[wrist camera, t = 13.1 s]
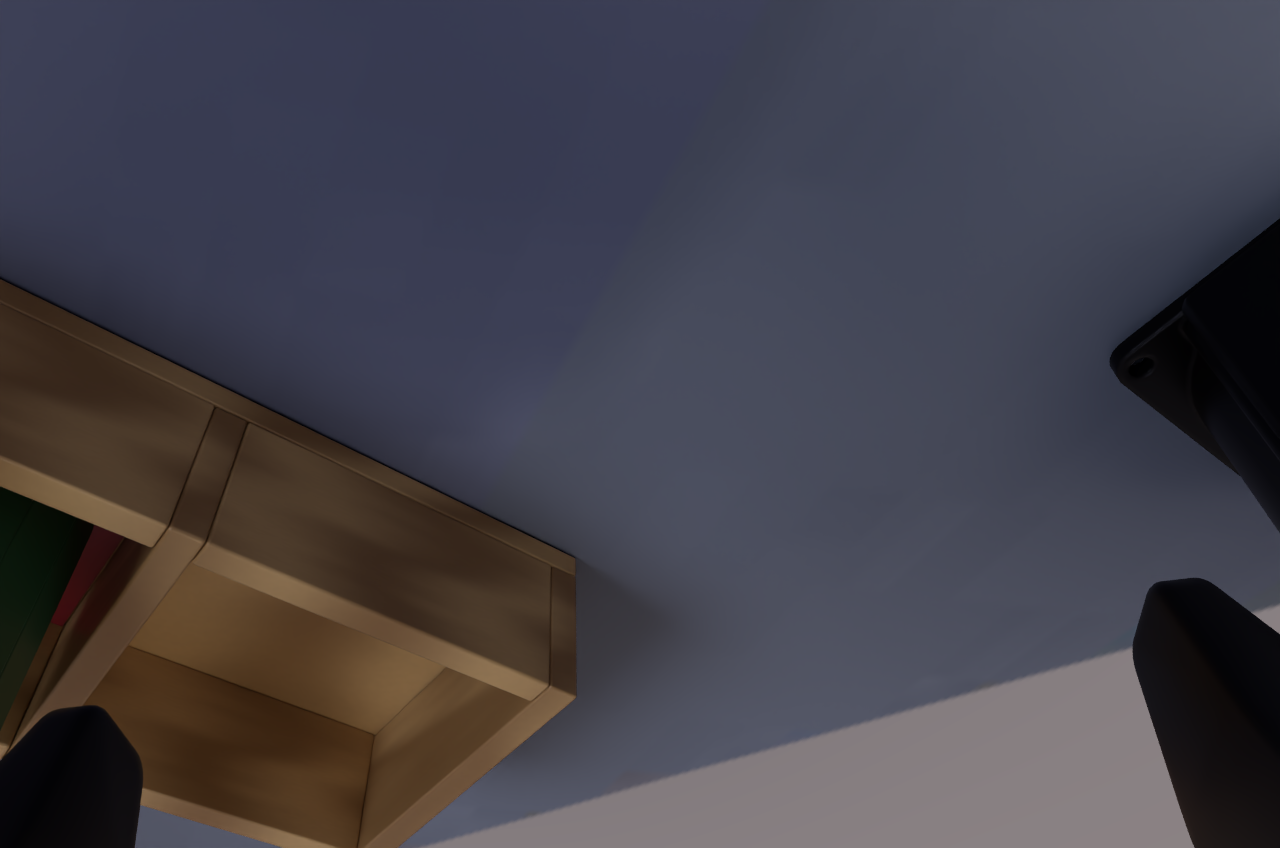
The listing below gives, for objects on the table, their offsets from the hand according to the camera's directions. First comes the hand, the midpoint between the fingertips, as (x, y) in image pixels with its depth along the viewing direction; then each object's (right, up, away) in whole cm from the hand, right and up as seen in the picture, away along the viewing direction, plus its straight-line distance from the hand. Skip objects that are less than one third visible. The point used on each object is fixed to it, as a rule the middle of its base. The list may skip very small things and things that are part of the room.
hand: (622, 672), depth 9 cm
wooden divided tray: (-11, 0, +15) cm, 19 cm away
